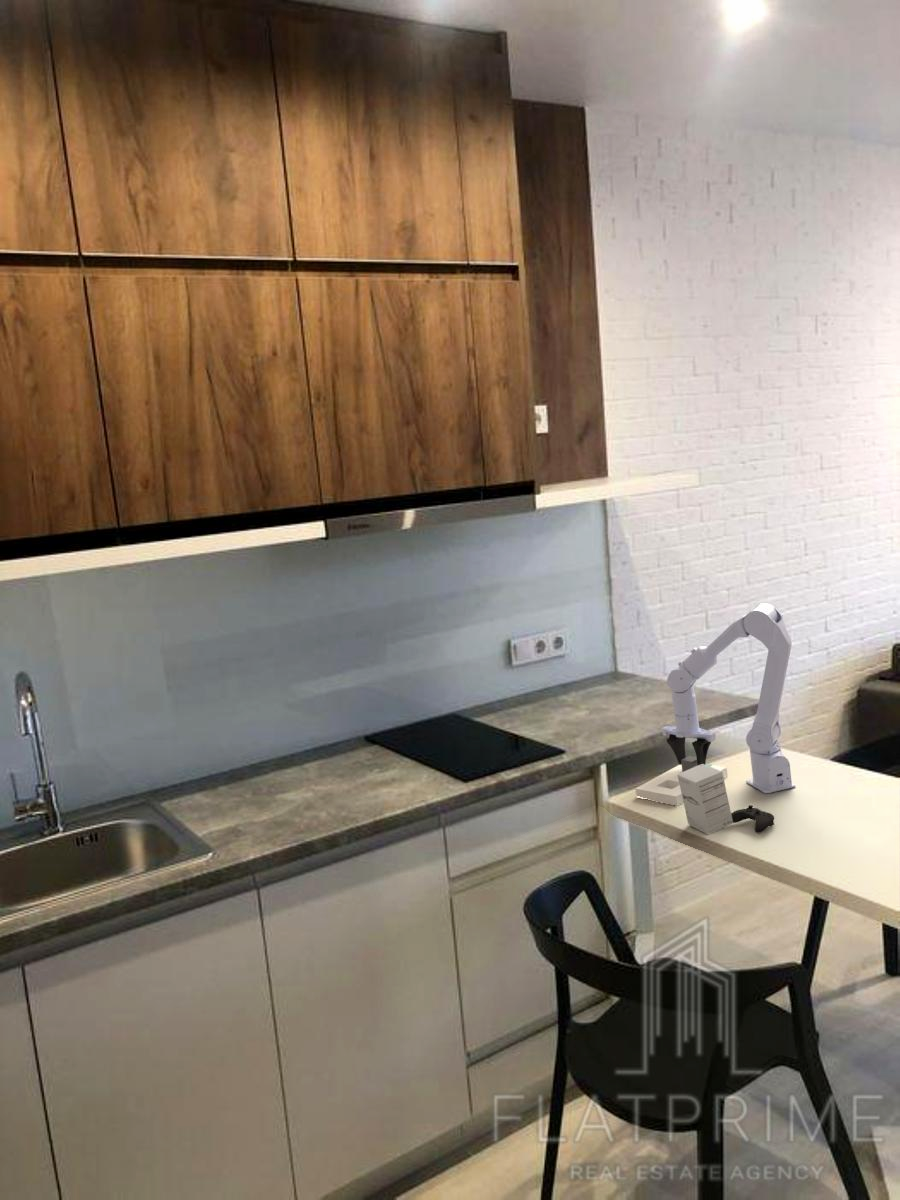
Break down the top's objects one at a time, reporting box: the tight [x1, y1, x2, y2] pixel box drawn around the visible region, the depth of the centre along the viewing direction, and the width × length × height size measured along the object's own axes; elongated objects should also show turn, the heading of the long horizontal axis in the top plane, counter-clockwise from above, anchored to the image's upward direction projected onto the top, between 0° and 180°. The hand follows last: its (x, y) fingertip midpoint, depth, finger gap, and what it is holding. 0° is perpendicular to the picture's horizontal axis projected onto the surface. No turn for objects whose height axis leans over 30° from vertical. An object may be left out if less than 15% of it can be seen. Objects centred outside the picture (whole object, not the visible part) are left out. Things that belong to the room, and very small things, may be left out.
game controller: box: [731, 804, 775, 834], centre depth 204 cm, size 10×5×6 cm
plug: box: [681, 755, 698, 772], centre depth 236 cm, size 4×3×6 cm
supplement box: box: [678, 764, 734, 835], centre depth 206 cm, size 7×7×13 cm
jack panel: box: [635, 763, 728, 807], centre depth 233 cm, size 22×12×3 cm, turn 132°
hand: (692, 765), depth 235 cm, fingers open, 5 cm apart
